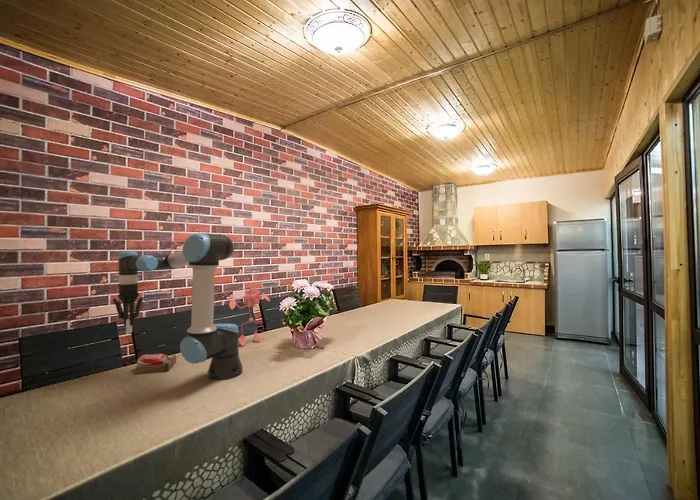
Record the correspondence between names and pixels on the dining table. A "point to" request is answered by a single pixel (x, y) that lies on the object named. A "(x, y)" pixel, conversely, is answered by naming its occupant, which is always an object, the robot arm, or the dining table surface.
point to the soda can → (152, 359)
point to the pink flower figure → (251, 300)
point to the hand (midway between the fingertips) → (129, 332)
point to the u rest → (157, 367)
